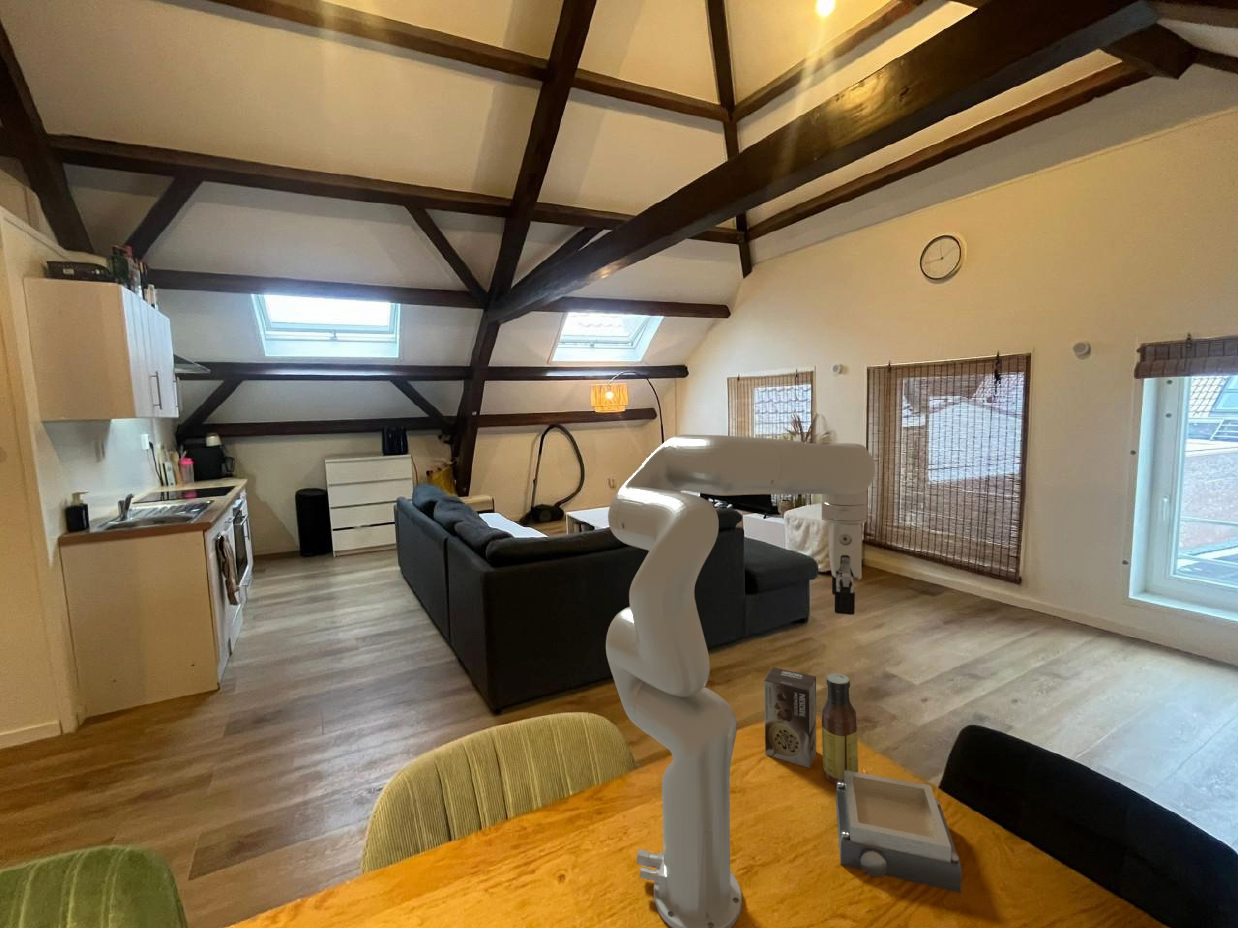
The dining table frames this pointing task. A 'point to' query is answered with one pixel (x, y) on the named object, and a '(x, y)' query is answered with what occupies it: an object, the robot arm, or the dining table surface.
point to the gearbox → (895, 831)
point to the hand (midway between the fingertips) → (842, 603)
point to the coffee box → (790, 716)
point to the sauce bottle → (839, 730)
